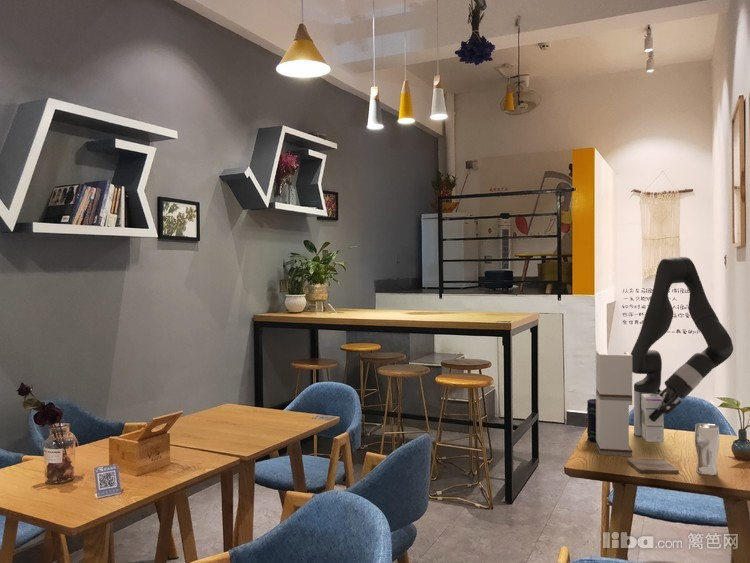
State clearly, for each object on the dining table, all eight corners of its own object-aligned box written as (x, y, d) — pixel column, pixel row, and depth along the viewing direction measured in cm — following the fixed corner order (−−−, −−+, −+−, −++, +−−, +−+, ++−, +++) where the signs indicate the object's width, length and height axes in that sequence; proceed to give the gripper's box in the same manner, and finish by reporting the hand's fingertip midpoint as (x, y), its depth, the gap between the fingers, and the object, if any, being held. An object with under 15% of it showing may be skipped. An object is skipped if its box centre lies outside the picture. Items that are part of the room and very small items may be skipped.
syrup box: (664, 442, 198) (664, 397, 198) (644, 441, 200) (644, 396, 200) (660, 437, 204) (659, 393, 204) (641, 437, 205) (640, 393, 205)
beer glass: (711, 469, 200) (711, 422, 200) (724, 476, 193) (724, 428, 193) (690, 469, 200) (690, 423, 199) (702, 476, 193) (702, 428, 193)
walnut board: (626, 461, 208) (626, 458, 208) (663, 461, 208) (663, 459, 208) (640, 473, 196) (640, 469, 196) (678, 473, 196) (678, 470, 196)
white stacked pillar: (632, 456, 214) (632, 355, 214) (599, 454, 217) (599, 354, 217) (626, 447, 226) (626, 351, 225) (596, 445, 228) (596, 350, 228)
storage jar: (619, 440, 234) (619, 401, 234) (606, 445, 228) (606, 405, 227) (595, 435, 242) (594, 397, 241) (582, 440, 235) (582, 401, 235)
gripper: (666, 369, 209) (630, 404, 209) (685, 376, 194) (647, 414, 195) (682, 385, 208) (646, 420, 209) (702, 393, 194) (664, 430, 195)
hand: (647, 417), depth 202 cm, fingers closed on syrup box, 6 cm apart
